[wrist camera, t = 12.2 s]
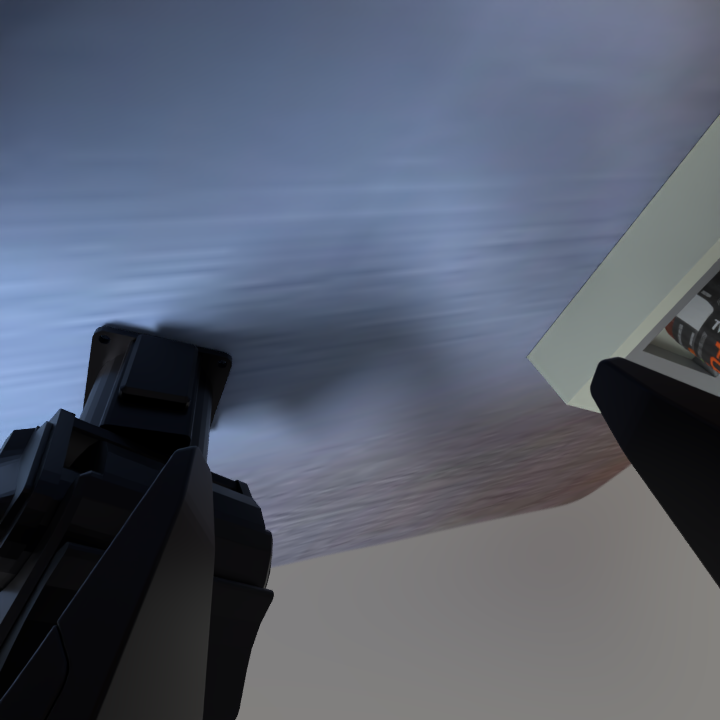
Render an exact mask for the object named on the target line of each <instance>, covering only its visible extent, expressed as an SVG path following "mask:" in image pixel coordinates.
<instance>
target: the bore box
mask: <svg viewBox="0 0 720 720" xmlns="http://www.w3.org/2000/svg"><path fill="white" fill-rule="evenodd" d="M719 271H720V115H719V116H718V117H717V119H716V120H715V121H714V122H713V124H712V125H711V126H710V127H709V129H708V130H707V131H706V132H705V134H704V135H703V136H702V137H701V139H700V140H699V141H698V142H697V144H696V145H695V146H694V147H693V149H692V150H691V151H690V153H689V154H688V155H687V156H686V158H685V159H684V160H683V161H682V163H681V164H680V165H679V166H678V168H677V169H676V170H675V171H674V173H673V174H672V175H671V176H670V178H669V179H668V180H667V181H666V183H665V184H664V185H663V186H662V188H661V189H660V190H659V191H658V193H657V194H656V195H655V197H654V198H653V199H652V200H651V202H650V203H649V204H648V205H647V207H646V208H645V209H644V210H643V212H642V213H641V214H640V215H639V217H638V218H637V219H636V220H635V222H634V223H633V224H632V225H631V227H630V228H629V229H628V230H627V232H626V233H625V234H624V235H623V237H622V238H621V239H620V241H619V242H618V243H617V244H616V246H615V247H614V248H613V249H612V251H611V252H610V253H609V254H608V256H607V257H606V258H605V259H604V261H603V262H602V263H601V264H600V266H599V267H598V268H597V269H596V271H595V272H594V273H593V274H592V276H591V277H590V278H589V279H588V281H587V282H586V283H585V285H584V286H583V287H582V288H581V290H580V291H579V292H578V293H577V295H576V296H575V297H574V298H573V300H572V301H571V302H570V303H569V305H568V306H567V307H566V308H565V310H564V311H563V312H562V313H561V315H560V316H559V317H558V318H557V320H556V321H555V322H554V323H553V325H552V326H551V327H550V329H549V330H548V331H547V332H546V334H545V335H544V336H543V337H542V339H541V340H540V341H539V342H538V344H537V345H536V346H535V347H534V349H533V350H532V351H531V352H530V354H529V355H528V356H527V358H528V359H529V360H530V362H531V363H532V364H533V365H534V366H535V368H536V369H537V370H538V371H539V372H540V374H541V375H542V376H543V377H544V378H545V380H546V381H547V382H548V383H549V384H550V385H551V387H552V388H553V389H554V390H555V391H556V393H557V394H558V395H559V396H560V397H561V399H562V400H563V401H564V402H565V403H566V404H567V405H571V406H575V407H578V408H582V409H586V410H590V411H594V412H598V413H601V412H600V410H599V408H598V407H597V405H596V403H595V401H594V399H593V398H592V396H591V392H590V385H591V382H592V379H593V376H594V373H595V371H596V368H597V365H598V363H599V362H600V361H601V360H603V359H608V358H613V357H622V358H624V359H627V360H629V361H632V362H634V363H637V364H639V365H642V366H644V367H647V368H649V369H652V370H654V371H657V372H659V373H662V374H664V375H667V376H669V377H672V378H674V379H677V380H679V381H681V382H684V383H686V384H689V385H691V386H694V387H696V388H699V389H701V390H704V391H706V392H709V393H711V394H714V395H716V396H719V397H720V374H719V373H718V372H716V371H715V370H714V369H712V368H711V367H710V366H708V365H707V364H705V363H704V362H703V361H702V360H701V359H699V358H698V357H696V356H695V355H694V354H693V353H691V352H690V351H688V350H686V349H685V348H684V347H683V346H681V345H680V344H679V343H677V342H676V341H675V339H673V338H672V337H671V336H670V335H669V334H668V333H667V331H666V329H665V327H666V326H667V325H668V324H669V323H670V322H671V321H672V319H673V318H674V317H675V316H676V315H677V314H678V313H679V312H680V311H681V310H682V309H683V308H684V307H685V306H686V305H687V304H688V303H689V302H690V301H691V300H692V299H693V298H694V297H695V296H696V295H697V294H698V292H699V291H700V290H701V289H702V288H703V287H704V286H705V285H706V284H707V283H708V282H709V281H710V280H711V279H712V278H713V277H714V276H715V275H716V274H717V273H718V272H719Z"/></svg>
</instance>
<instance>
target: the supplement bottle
mask: <svg viewBox="0 0 720 720" xmlns="http://www.w3.org/2000/svg"><path fill="white" fill-rule="evenodd" d="M665 329H666V331H667V333H668V334H669V335H670V336H671V337H672V338H673V339H675V341H676V342H677V343H679V344H680V345H681V346H683V347H684V348H685V349H686V350H688V351H690V352H691V353H693V354H694V355H695V356H696V357H698V358H699V359H701V360H702V361H703V362H704V363H705V364H707V365H708V366H710V367H711V368H712V369H714V370H715V371H716V372H718V373H719V374H720V271H719V272H718V273H717V274H716V275H715V276H714V277H713V278H712V279H711V280H710V281H709V282H708V283H707V284H706V285H705V286H704V287H703V288H702V289H701V290H700V291H699V292H698V294H697V295H696V296H695V297H694V298H693V299H692V300H691V301H690V302H689V303H688V304H687V305H686V306H685V307H684V308H683V309H682V310H681V311H680V312H679V313H678V314H677V315H676V316H675V317H674V318H673V319H672V321H671V322H670V323H669V324H668V325H667V326H666V327H665Z"/></svg>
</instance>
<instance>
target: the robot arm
mask: <svg viewBox="0 0 720 720" xmlns="http://www.w3.org/2000/svg"><path fill="white" fill-rule="evenodd" d="M101 335H106V336H108V337H109V338H110V339H104V338H103V337H102V336H101ZM221 360H223V361H226V363H219V362H218V361H221ZM231 367H232V358H231V356H230V355H229V354H227V353H225V352H221V351H216V350H211V349H207V348H202V347H198V346H194V345H191V344H187V343H182V342H178V341H173V340H169V339H164V338H160V337H155V336H151V335H146V334H139V333H134V332H130V331H125V330H121V329H116V328H112V327H106V326H102V327H99V328H97V329H96V331H95V333H94V335H93V337H92V345H91V352H90V360H89V367H88V375H87V383H86V390H85V398H84V406H83V411H82V414H81V416H80V418H79V419H78V418H76V417H75V414H73V413H71V412H68V411H66V410H64V409H59V410H58V412H57V413H56V414H55V415H54V416H53V417H52V419H51V420H50V421H49V422H48V421H46V422H45V423H44V424H43V425H42V426H41V427H39V426H37V427H36V428H30V429H21V430H14V431H13V432H12V433H11V434H10V435H9V437H8V438H7V439H6V441H5V442H4V444H3V446H2V448H1V449H0V720H235V719H236V717H237V715H238V712H239V709H240V703H241V698H242V693H243V687H244V682H245V677H246V672H247V667H248V662H249V658H250V654H251V649H252V647H253V644H254V641H255V638H256V635H257V632H258V629H259V626H260V624H261V621H262V619H263V618H264V616H265V613H266V611H267V610H268V608H269V606H270V604H271V602H272V600H273V597H274V593H273V591H272V590H269V589H266V586H267V582H268V578H269V574H270V568H271V559H272V547H273V539H272V533H271V532H270V531H268V530H265V524H264V520H263V516H262V512H261V508H260V507H259V506H258V504H257V503H256V502H255V501H254V499H253V498H252V496H251V493H250V490H249V488H248V485H247V484H246V483H244V482H241V481H239V480H236V481H233V480H230V479H228V478H225V477H223V476H220V475H218V474H215V473H213V472H211V471H210V468H209V466H208V464H207V454H208V443H209V432H210V426H211V423H212V421H213V418H214V415H215V412H216V409H217V406H218V404H219V401H220V398H221V395H222V392H223V389H224V386H225V384H226V381H227V378H228V375H229V372H230V369H231ZM590 392H591V396H592V398H593V399H594V401H595V403H596V405H597V407H598V408H599V410H600V412H601V414H602V415H603V417H604V419H605V421H606V422H607V424H608V426H609V428H610V430H611V431H612V433H613V435H614V437H615V438H616V440H617V442H618V444H619V445H620V447H621V449H622V450H623V452H624V453H625V455H626V456H627V458H628V459H629V461H630V462H631V464H632V465H633V467H634V468H635V469H636V471H637V472H638V474H639V475H640V476H641V478H642V479H643V481H644V482H645V483H646V485H647V486H648V488H649V489H650V491H651V492H652V493H653V495H654V496H655V498H656V499H657V500H658V502H659V503H660V505H661V506H662V507H663V509H664V510H665V512H666V513H667V514H668V516H669V517H670V519H671V520H672V522H673V523H674V524H675V526H676V527H677V529H678V530H679V531H680V533H681V534H682V536H683V537H684V539H685V540H686V541H687V543H688V544H689V546H690V547H691V548H692V550H693V551H694V553H695V554H696V555H697V557H698V558H699V560H700V561H701V563H702V564H703V565H704V567H705V568H706V569H707V571H708V572H709V574H710V575H711V577H712V578H713V579H714V581H715V582H716V584H717V585H718V586H719V588H720V397H719V396H716V395H714V394H711V393H709V392H706V391H704V390H701V389H699V388H696V387H694V386H691V385H689V384H686V383H684V382H681V381H679V380H677V379H674V378H672V377H669V376H667V375H664V374H662V373H659V372H657V371H654V370H652V369H649V368H647V367H644V366H642V365H639V364H637V363H634V362H632V361H629V360H627V359H624V358H622V357H613V358H608V359H603V360H601V361H600V362H599V363H598V365H597V368H596V371H595V373H594V376H593V379H592V382H591V385H590Z"/></svg>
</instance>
